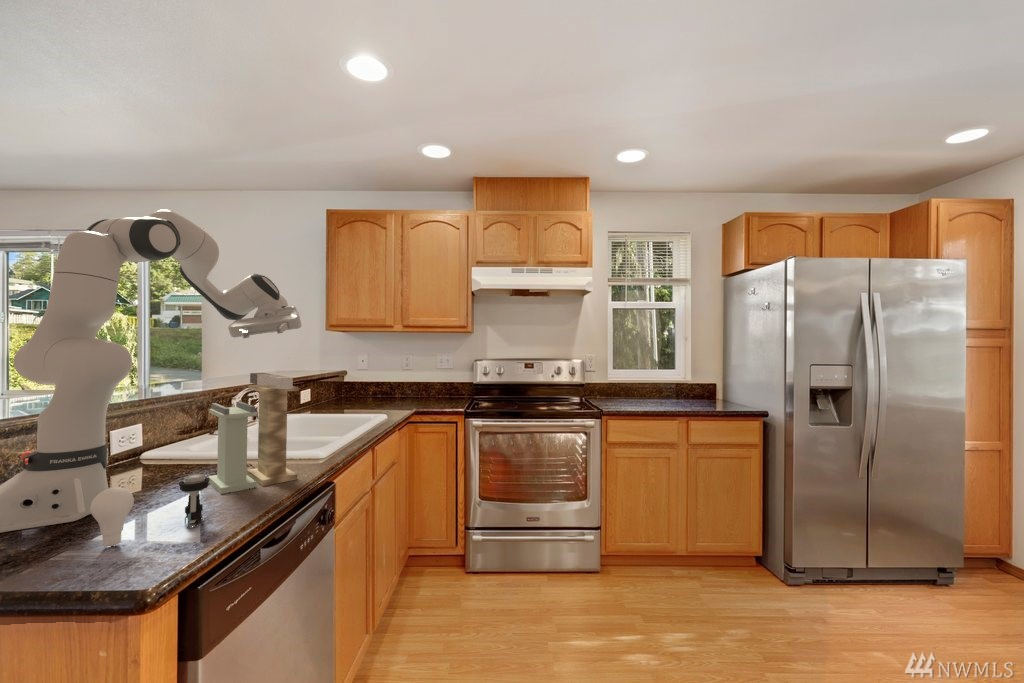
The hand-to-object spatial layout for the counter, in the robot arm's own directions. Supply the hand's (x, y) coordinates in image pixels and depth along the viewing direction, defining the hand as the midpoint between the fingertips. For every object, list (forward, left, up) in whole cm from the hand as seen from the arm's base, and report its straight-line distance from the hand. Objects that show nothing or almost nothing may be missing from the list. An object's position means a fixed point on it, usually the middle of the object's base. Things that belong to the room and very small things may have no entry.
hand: (262, 333), depth 136 cm
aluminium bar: (0, -8, -15) cm, 17 cm away
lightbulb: (-36, -37, -41) cm, 66 cm away
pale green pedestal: (-10, -10, -41) cm, 43 cm away
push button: (-23, -35, -41) cm, 59 cm away
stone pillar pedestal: (0, -10, -41) cm, 42 cm away
